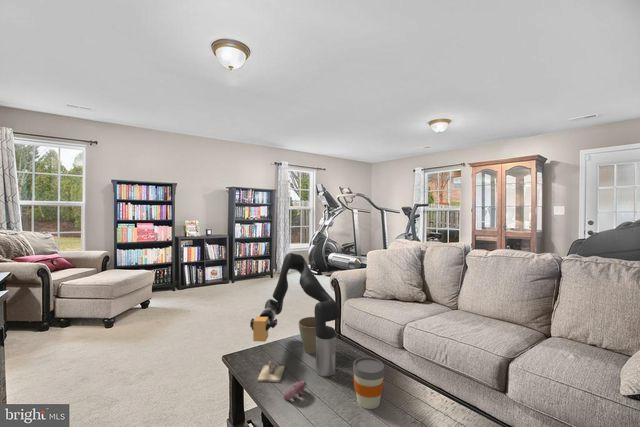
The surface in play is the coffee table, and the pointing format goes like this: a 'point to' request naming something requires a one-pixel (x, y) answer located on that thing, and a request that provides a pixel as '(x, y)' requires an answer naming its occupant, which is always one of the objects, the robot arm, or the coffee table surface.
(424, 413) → the coffee table surface
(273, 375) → the flat beige base block
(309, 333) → the plant pot
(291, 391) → the video game controller
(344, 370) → the coffee table surface
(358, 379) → the reusable coffee cup
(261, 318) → the tall orange pillar
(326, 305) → the robot arm
